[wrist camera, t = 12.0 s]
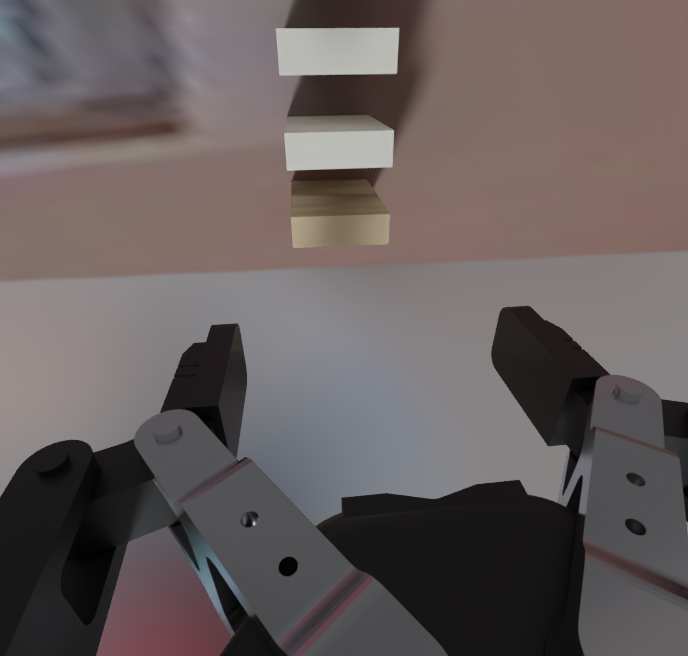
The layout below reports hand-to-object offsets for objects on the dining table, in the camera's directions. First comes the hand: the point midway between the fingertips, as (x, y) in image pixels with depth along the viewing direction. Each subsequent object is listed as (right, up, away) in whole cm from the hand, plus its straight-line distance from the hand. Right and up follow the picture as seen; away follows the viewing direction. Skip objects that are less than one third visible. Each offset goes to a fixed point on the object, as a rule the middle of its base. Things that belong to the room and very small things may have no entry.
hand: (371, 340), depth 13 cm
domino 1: (-2, +16, +11) cm, 20 cm away
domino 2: (-2, +13, +13) cm, 18 cm away
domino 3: (-2, +10, +15) cm, 18 cm away
